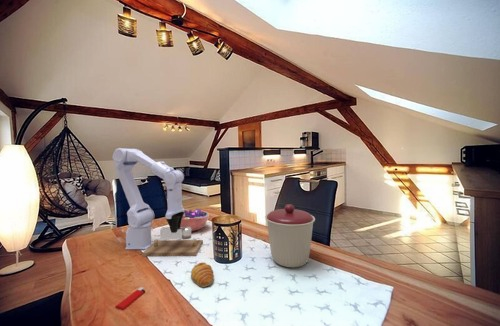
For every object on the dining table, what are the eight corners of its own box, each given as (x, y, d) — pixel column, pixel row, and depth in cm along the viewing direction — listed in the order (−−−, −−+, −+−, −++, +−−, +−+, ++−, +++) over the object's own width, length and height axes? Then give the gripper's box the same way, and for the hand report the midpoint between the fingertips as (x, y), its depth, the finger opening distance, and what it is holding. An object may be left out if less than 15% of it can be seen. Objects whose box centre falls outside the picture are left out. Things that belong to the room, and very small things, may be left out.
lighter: (115, 305, 54) (139, 286, 62) (115, 309, 54) (139, 290, 62) (123, 307, 53) (147, 288, 61) (123, 312, 53) (147, 292, 61)
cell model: (180, 224, 122) (180, 204, 121) (213, 224, 119) (213, 205, 119) (166, 235, 105) (165, 212, 104) (204, 236, 103) (204, 213, 102)
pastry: (218, 284, 64) (218, 272, 64) (197, 292, 61) (196, 279, 60) (208, 270, 72) (208, 259, 72) (189, 276, 69) (188, 264, 69)
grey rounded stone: (159, 239, 86) (159, 230, 86) (163, 235, 90) (163, 226, 90) (189, 239, 86) (189, 229, 86) (192, 235, 90) (192, 226, 90)
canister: (314, 278, 66) (314, 212, 65) (259, 269, 72) (259, 208, 71) (315, 253, 83) (315, 200, 82) (271, 247, 89) (271, 198, 88)
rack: (142, 256, 82) (142, 246, 82) (156, 243, 94) (156, 234, 94) (195, 256, 82) (195, 246, 82) (202, 243, 94) (202, 234, 94)
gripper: (177, 202, 80) (178, 237, 81) (189, 195, 95) (190, 225, 95) (159, 203, 80) (160, 237, 81) (174, 195, 95) (174, 225, 95)
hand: (175, 230), depth 88 cm, fingers closed on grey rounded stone, 3 cm apart
